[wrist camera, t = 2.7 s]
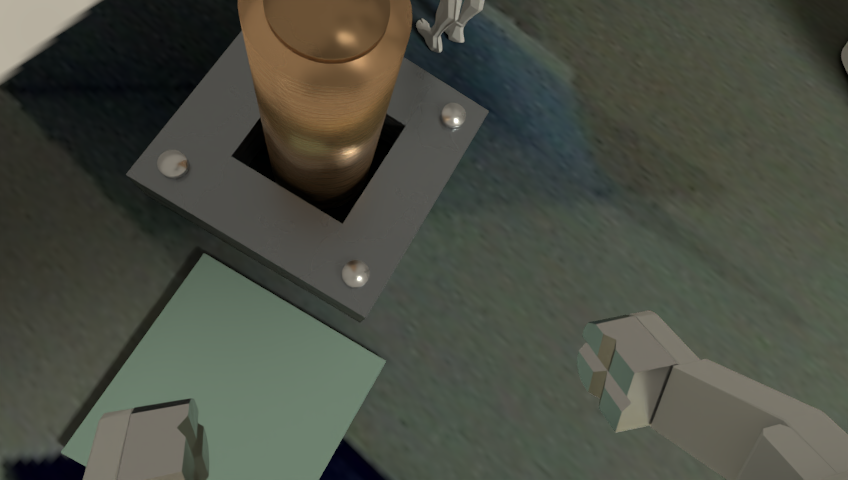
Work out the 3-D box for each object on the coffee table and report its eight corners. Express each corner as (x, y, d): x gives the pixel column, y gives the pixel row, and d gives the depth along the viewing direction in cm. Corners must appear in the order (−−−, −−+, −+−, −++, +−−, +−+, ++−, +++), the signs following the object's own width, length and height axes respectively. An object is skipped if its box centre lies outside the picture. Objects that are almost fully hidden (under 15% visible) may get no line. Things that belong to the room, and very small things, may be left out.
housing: (285, 17, 30) (281, -26, 26) (472, 134, 30) (491, 107, 27) (146, 194, 26) (122, 171, 23) (360, 322, 27) (366, 317, 24)
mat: (206, 255, 26) (204, 252, 26) (384, 361, 27) (386, 361, 26) (66, 450, 23) (60, 452, 23) (269, 563, 24) (268, 568, 23)
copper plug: (305, 100, 29) (300, -105, 16) (386, 150, 29) (443, -12, 16) (251, 175, 28) (198, 15, 15) (336, 227, 28) (357, 114, 15)
